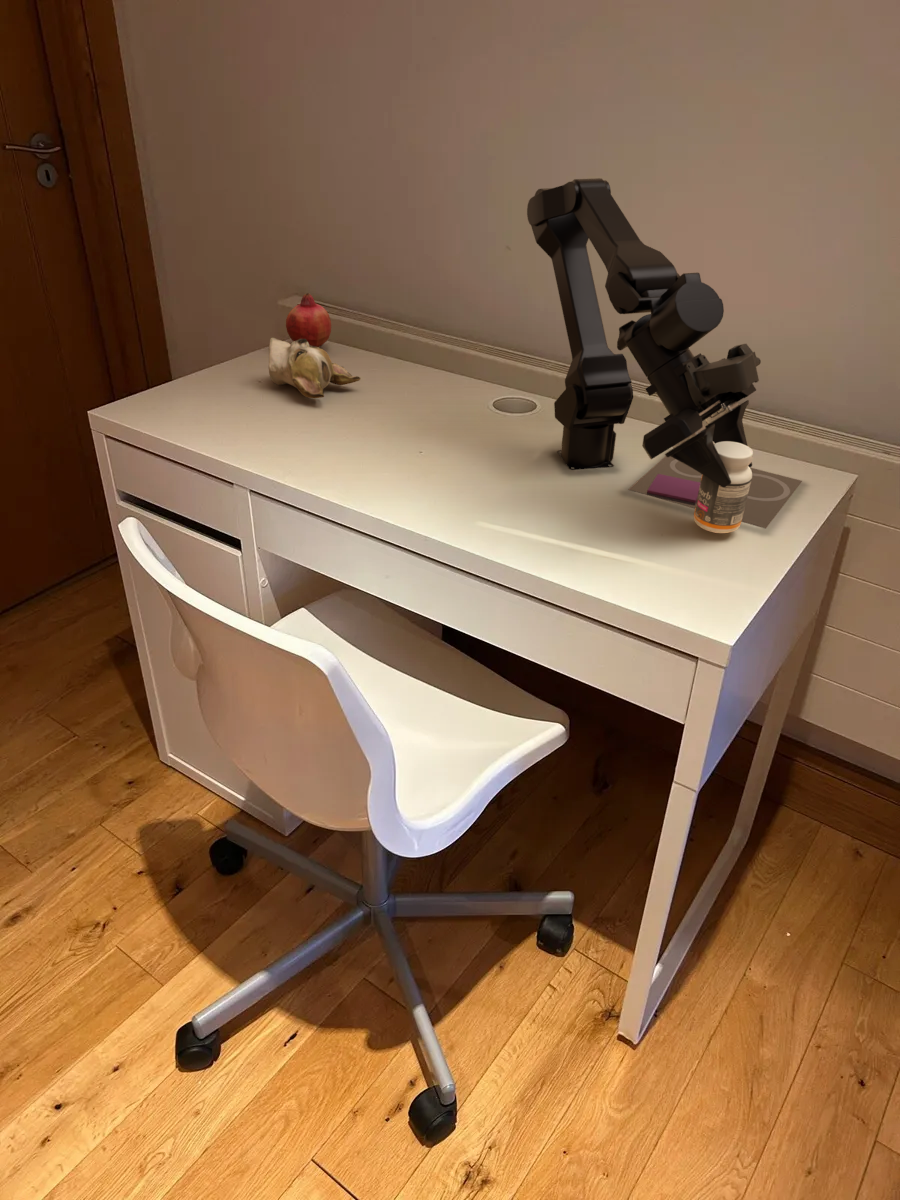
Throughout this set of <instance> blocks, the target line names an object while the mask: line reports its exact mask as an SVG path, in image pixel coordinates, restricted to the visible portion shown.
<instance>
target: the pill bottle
mask: <svg viewBox="0 0 900 1200" xmlns="http://www.w3.org/2000/svg"><path fill="white" fill-rule="evenodd" d="M713 444H714V446H715V448H716V450H717V452H718V454H719V456H720V458H721V460H722V462H723V464H724V466H725V468H726V470H727V472H728V475H729V477H730V480H731V484H730V485H728V486H726V487H722V486H720V485H718V484H717V483H715V482H714V481H712V480H710V479H709V478H707V477H706V476H704V475H703V474H702V478H701V483H700V487H699V493H698V497H697V502H696V507H695V509H694V512H693V521H694V522H695V524H696V525H697V526H698V527H699V528H701V529H703V530H704V531H707V532H710V533H716V534H729V533H732V532H735V531H737V530H738V529H739V528H740V526H741V524H742V522H741V521H742V517H743V513H744V509H745V505H746V500H747V496H748V492H749V488H750V484H751V479H752V471H751V469H750V468H751V467H749V466H748V465H749V464H750V463H751V462H752V463H753V456H754V451H753V449H752V448H751V447H750V446H746V445H744V444H741V443H737V442H731V441H723V442H718V443H716V444H715V443H713Z"/></svg>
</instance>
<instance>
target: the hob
mask: <svg viewBox="0 0 900 1200" xmlns="http://www.w3.org/2000/svg"><path fill="white" fill-rule="evenodd" d="M750 469H751V471H752V479H751V484H750V488H749V492H748V496H747V500H746V505H745V509H744V513H743V517H742V521H741V523H744V524H747V525H751V526H755V527H758V528H762V529H767V528H768V527H769V525H770V524H771V523H772V521H774V519H775V517H777V515H778V513H780V511H781V510H782V508H783V507H784V506H785V504H786V503H787V502H788V500H789V499H790V498H791V497H792V496H793V494H794V493H795V492H796V490H797V489H798V488H799V487H800V485H801V484H802V483H803V480H800V479H797V478H792V477H789V476H785V475H782V474H777V473H774V472H769V471H765V470H762V469H757V468H753V467H750ZM658 474H661V475H666V476H671V477H676V478H681V479H686V480H690V481H695V482H700V483H701V478H702V474H701V473H699V472H698V471H696V470H694V469H693V468H691V467H689V466H688V465H686V464H684V463H682V462H680V461H678V460H676V459H675V458H673V457H671V456H670V457H666V456H664V457H662V458H661V459H660V460H659V461H658V462H657V463H656V464H655V465H654V466H653V467H651V469H649V470H648V471H647V472H646V473H645V474H644V475H642V476H641V477H640V478H639V479H638V480H637V481H636V482H635V483H634V484H633V485H632V486H630V487H629V488H628V491H631V492H635V493H637V494H642V495H645V496H649V497H652V498H656V499H658V500H663V501H667V502H671V503H674V504H677V505H681V506H684V507H689V508H691V509H694V510H695V507H696V502H697V501H696V502H695V503H693V502H688V501H684V500H679V499H674V498H670V497H665V496H660V495H656V494H651V493H647V490H648V488H649V487H650V485H651V484H652V482H653V481H654V479H655V478H656V476H657V475H658Z"/></svg>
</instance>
